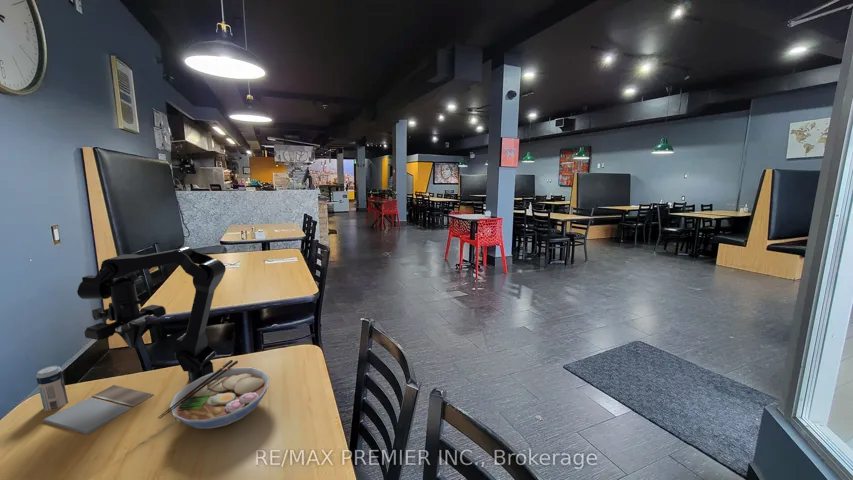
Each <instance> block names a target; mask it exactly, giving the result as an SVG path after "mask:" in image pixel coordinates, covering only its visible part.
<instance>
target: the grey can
mask: <svg viewBox="0 0 853 480" xmlns="http://www.w3.org/2000/svg"><path fill="white" fill-rule="evenodd" d="M62 370H63V369H62V368H61V367H60V366H59V365H49V366H46V367H43V368H41V369H39V370H38V371H37V373H36V375H35V378H36V381H37V385H38V390H39V395H40V399H41V404H42V408H43V411H44V412H46V411H47V412H51V411H54V410H58V409H60V408H62V407H64V406H66V405H67V404H68V403H69V398H68V394H67V391H66V390H67V389H66V384H65V380H64V375H63V372H62Z"/></svg>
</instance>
